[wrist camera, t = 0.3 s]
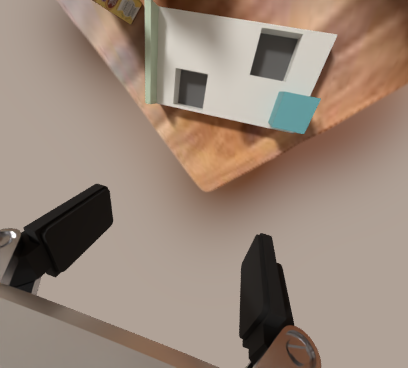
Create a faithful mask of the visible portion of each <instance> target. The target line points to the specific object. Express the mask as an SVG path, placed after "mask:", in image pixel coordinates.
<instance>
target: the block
mask: <svg viewBox="0 0 408 368" xmlns="http://www.w3.org/2000/svg"><path fill="white" fill-rule="evenodd" d="M320 100H321V99H320V98H315V97H310V96H305V95H300V94H295V93H290V92H279V93H278V96H277V99H276V101H275V104H274V107H273V110H272V113H271V116H270V118H269V121H268V123H269V124H270V126H271V127H273V128H278V129H282V130H287V131H292V132H296V133H301V134H304V133H305V131H306V129H307V127H308V125H309V123H310V121H311V118H312V116H313V114H314V112H315V110H316V108H317V106H318V104H319V102H320Z"/></svg>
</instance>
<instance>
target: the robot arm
mask: <svg viewBox="0 0 408 368" xmlns="http://www.w3.org/2000/svg"><path fill="white" fill-rule="evenodd" d="M112 223H113V215H112V207H111V199H110V191H109V190H108V188H107V187H106V186H103V185H100V184H95V185H93V186H91V187H90V188H88V189H87V190H85V191H83V192H82V193H80V194H78V195H77V196H75V197H73V198H72V199H70V200H68V201H67V202H65V203H63V204H62V205H60V206H58V207H57V208H55V209H53V210H52V211H50V212H48V213H47V214H45V215H43V216H42V217H40V218H38V219H37V220H35V221H33V222H32V223H30V224H29V225H27V226H25V227H24V230H25V231H24V232H22V233H21V232H20V231H19V230H17V229H13V228H8V229H1V230H0V368H219V367H216V366H214V365H212V364H209V363H207V362H204V361H202V360H200V359H197V358H195V357H192V356H190V355H188V354H185V353H183V352H180V351H178V350H175V349H172V348H170V347H168V346H165V345H163V344H160V343H157V342H155V341H152V340H149V339H147V338H145V337H142V336H140V335H137V334H135V333H132V332H129V331H127V330H124V329H122V328H119V327H117V326H114V325H111V324H109V323H106V322H103V321H101V320H98V319H96V318H93V317H91V316H88V315H86V314H83V313H80V312H78V311H75V310H73V309H70V308H67V307H65V306H62V305H60V304H57V303H54V302H52V301H49V300H47V299H44V298H41V297H39V296H36V294H37V291H38V287H39V283H40V280H41V276H42V275H43V274H45V273H47V274H48V275H51V276H53V277H56V276H58V275H59V274H60V273H61V272H64V271H65V270H66V269H67V268H68V267H70V265H72V264H73V262H75V260H77V259H78V258H79V257H80V256H81V255H82V254H83V253H84V252H85V251H86V250H87V249H88V248H89V247H90V246H91V245H92V244H93V243H94V242H95V241H96V240H97V239H98V238H99V237H100V236H101V235H102V234H103V233H104V232H105V231H106V230H107V229H108V228H109V227H110V226H111V225H112ZM239 327H240V329H239V336H240V338H242V339H243V347H245V348H248V349H249V359H250V362H249V364H248V365H247V366H246V368H321V359H320V356H319V353H318V350H317V348H316V346H315V344H314V343H313V341H312V340H311V339H310V337H309V336H308V335H307V334H306V333H305V332H304V331H303V330H301V329H300V328H298V327H296V326H294V321H293V317H292V312H291V307H290V302H289V297H288V293H287V288H286V283H285V278H284V273H283V269H282V266H281V264H279V263H276V257H275V252H274V246H273V241H272V237H271V236H269V235H266V234H263V233H261V234H260V235H256V236H255V239H254V241H253V243H252V244H251V247H250V248H249V251H248V252H247V254H246V256H245V259H244V261H243V262H242V266H241V291H240V325H239Z"/></svg>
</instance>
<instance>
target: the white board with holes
mask: <svg viewBox="0 0 408 368" xmlns="http://www.w3.org/2000/svg"><path fill="white" fill-rule="evenodd" d="M336 37H337V34H330V33H324V32H318V31H311V30H305V29H298V28H292V27H286V26H279V25H273V24H267V23H260V22H254V21H248V20H241V19H235V18H229V17H222V16H216V15H210V14H203V13H197V12H190V11H184V10H178V9H171V8H165V7H159V6H158V5H157V4H156V3H155V2H154V1H152V0H145V103H148V104H155V103H157V104H162V105H166V106H171V107H175V108H180V109H184V110H189V111H193V112H198V113H202V114H207V115H211V116H216V117H220V118H225V119H229V120H234V121H238V122H243V123H247V124H252V125H256V126H261V127H265V128H270V129H274V130H279V131H283V132H288V133H292V134H293V133H294V132H292V131H287V130H282V129H278V128H273V127H271V126H270V124H269V123H268V121H269V118H270V116H271V113H272V110H273V107H274V104H275V101H276V99H277V96H278V93H279V92H290V93H295V94H300V95H305V96H310V95H311V93H312V91H313V89H314V86H315V84H316V82H317V80H318V77H319V75H320V73H321V71H322V68H323V66H324V64H325V62H326V59H327V57H328V55H329V53H330V50H331V48H332V46H333V44H334V41H335V39H336Z"/></svg>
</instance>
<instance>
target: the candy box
mask: <svg viewBox="0 0 408 368" xmlns="http://www.w3.org/2000/svg"><path fill="white" fill-rule="evenodd" d="M93 1H94V2H96V3H98V4H99V5H101V6H102V7H104V8H105V9H107V10H108V11H110V12H112V13H113V14H115V15H116V16H118V17H119V18H121V19H123V20H124V21H126V22H127V23H129V24H130V25H131V24H132V22H133V20H134V18H135V16H136V14H137V12H138V11H139V9H140V7H141V5H142V2H141V1H140V0H93Z"/></svg>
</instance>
